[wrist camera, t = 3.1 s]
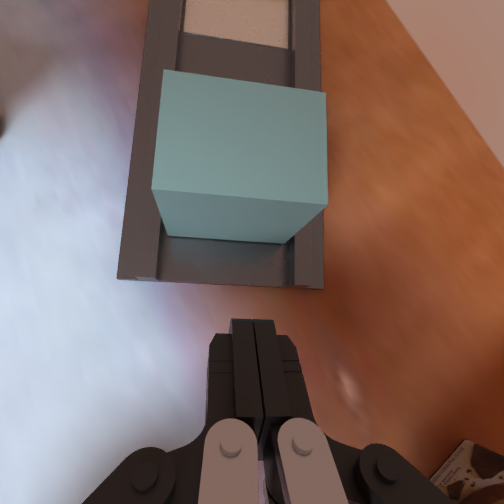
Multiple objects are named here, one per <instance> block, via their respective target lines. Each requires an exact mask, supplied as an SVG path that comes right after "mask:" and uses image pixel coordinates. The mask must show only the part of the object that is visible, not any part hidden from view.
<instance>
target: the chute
mask: <svg viewBox="0 0 504 504" xmlns="http://www.w3.org/2000/svg"><path fill="white" fill-rule="evenodd" d="M164 69H165V70H172V71H179V72H186V73H193V74H200V75H207V76H214V77H221V78H228V79H235V80H242V81H249V82H256V83H263V84H270V85H277V86H284V87H291V88H298V89H305V90H312V91H319V92H321V70H320V7H319V0H150V1H149V10H148V18H147V27H146V35H145V44H144V52H143V60H142V69H141V77H140V86H139V94H138V102H137V111H136V119H135V128H134V136H133V144H132V153H131V161H130V170H129V178H128V187H127V195H126V203H125V212H124V220H123V229H122V237H121V245H120V254H119V262H118V271H117V279H118V280H134V281H155V282H176V283H197V284H217V285H238V286H259V287H280V288H301V289H324V258H323V210H322V211H321V212H319V213H318V214H317V215H316V216H315V217H314V218H313V219H312V220H310V221H309V222H308V223H307V224H306V225H305V226H304V227H303V228H301V229H300V230H299V231H298V232H297V233H296V234H295V235H294V236H292V237H291V238H290V239H289V240H288V241H287V242H286V243H285V244H281V243H267V242H252V241H238V240H223V239H209V238H194V237H180V236H168V235H167V232H166V229H165V226H164V223H163V220H162V218H161V215H160V212H159V209H158V206H157V204H156V201H155V198H154V195H153V192H152V189H151V187H152V177H153V168H154V158H155V148H156V138H157V128H158V119H159V109H160V99H161V89H162V80H163V70H164Z"/></svg>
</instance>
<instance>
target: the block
mask: <svg viewBox="0 0 504 504" xmlns="http://www.w3.org/2000/svg"><path fill="white" fill-rule="evenodd" d="M151 189H152V192H153V195H154V198H155V201H156V204H157V206H158V209H159V212H160V215H161V218H162V220H163V223H164V226H165V229H166V232H167V235H168V236H180V237H194V238H209V239H223V240H238V241H252V242H267V243H281V244H285V243H286V242H287V241H288V240H289V239H290V238H291V237H292V236H294V235H295V234H296V233H297V232H298V231H299V230H300V229H301V228H303V227H304V226H305V225H306V224H307V223H308V222H309V221H310V220H312V219H313V218H314V217H315V216H316V215H317V214H318V213H319V212H321V211H322V210H323V209H324V208H325V207H326V206H327V205H328V173H327V122H326V92H319V91H312V90H305V89H298V88H291V87H284V86H277V85H270V84H263V83H256V82H249V81H242V80H235V79H228V78H221V77H214V76H207V75H200V74H193V73H186V72H179V71H172V70H165V69H164V70H163V80H162V89H161V99H160V109H159V119H158V128H157V138H156V148H155V158H154V168H153V177H152V187H151Z"/></svg>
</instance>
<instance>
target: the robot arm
mask: <svg viewBox="0 0 504 504" xmlns="http://www.w3.org/2000/svg"><path fill="white" fill-rule="evenodd" d="M258 460H263V461H264V471H265V477H264V481H263V495H264V501H265V504H456V503H455V502H453V501H452V500H451V499H450V498H449V497H448V496H447V495H445V494H444V493H443V492H442V491H441V490H440V489H439V488H437V487H436V486H435V485H434V484H433V483H432V482H431V481H429V480H428V479H427V478H426V477H425V476H424V475H423V474H422V473H420V472H419V471H418V470H417V469H416V468H415V467H414V466H412V465H411V464H410V463H409V462H408V461H407V460H406V459H404V458H403V457H402V456H401V455H400V454H399V453H397V452H396V451H395V450H394V449H392V448H390V447H388V446H386V445H383V444H377V443H376V444H370V445H368V446H366V447H365V448H364V449H363V450H360V449H357V448H354V447H351V446H348V445H345V444H342V443H339V442H337V441H334V440H333V439H331V438H329V437H328V436H327V435H326V434H325V433H324V432H322V430H321V429H320V428H319V427H318V425H317V423H316V421H315V419H314V417H313V413H312V409H311V405H310V401H309V397H308V393H307V389H306V385H305V381H304V377H303V374H302V369H301V365H300V363H299V357H298V353H297V350H296V346H295V345H294V344H293V342H292V341H291V340H290V338H289V337H288V336H287V335H276V330H275V325H274V321H273V320H260V319H253V320H251V319H231V321H230V329H229V334H218V333H216V334H215V336H214V338H213V340H212V341H211V343H210V345H209V357H208V368H207V389H206V416H205V427H204V429H203V431H202V432H201V434H200V435H199V436H198V437H197V438H196V439H195V440H194V441H193V442H191V443H190V444H188V445H186V446H184V447H181V448H178V449H176V450H173V451H170V452H168V453H166V452H165V451H164V450H162V449H159V448H155V447H146V448H142V449H139V450H137V451H135V452H133V453H132V454H130V455H129V456H128V457H127V458H126V459H125V460H124V461H123V462H122V463H121V464H120V465H119V466H118V467H117V468H116V469H115V470H114V471H113V472H112V473H111V474H110V475H109V476H108V477H107V478H106V479H105V480H104V481H103V482H102V483H101V484H100V485H99V487H98V488H97V489H96V490H95V491H94V492H93V493H92V494H91V495H90V496H89V497H88V498H87V499H86V500H85V501H84V502H83V503H82V504H259V490H258Z"/></svg>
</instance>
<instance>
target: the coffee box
mask: <svg viewBox="0 0 504 504" xmlns="http://www.w3.org/2000/svg"><path fill="white" fill-rule="evenodd" d="M429 481H431V482H432V483H433V484H434V485H435V486H436V487H437V488H439V489H440V490H441V491H442V492H443V493H444V494H445V495H447V496H448V497H449V498H450V499H451V500H452V501H453V502H455V503H456V504H504V456H502V455H500V454H498V453H495V452H493V451H491V450H489V449H487V448H485V447H482V446H480V445H478V444H476V443H474V442H472V441H469V440H464V442H463V443H462V444H461V445H460V446H459V447H458V448H457V449H456V451H455V452H454V453H453V454H452V455H451V456H450V458H449V459H448V460H447V461H446V462H445V463H444V464H443V465H442V467H441V468H440V469H439V470H438V471H437V472H436V473H435V474H434V476H433V477H432V478H431V479H430V480H429Z"/></svg>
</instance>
